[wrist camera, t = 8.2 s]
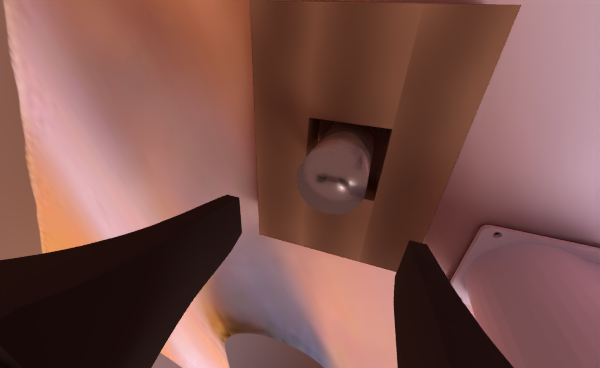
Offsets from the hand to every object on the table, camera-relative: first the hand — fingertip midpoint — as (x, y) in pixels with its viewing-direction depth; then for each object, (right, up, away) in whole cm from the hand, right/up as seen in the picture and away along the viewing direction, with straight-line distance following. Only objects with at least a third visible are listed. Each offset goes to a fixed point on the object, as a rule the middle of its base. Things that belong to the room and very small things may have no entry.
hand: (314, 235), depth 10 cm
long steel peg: (+3, +5, +7) cm, 9 cm away
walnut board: (+3, +5, +7) cm, 9 cm away
